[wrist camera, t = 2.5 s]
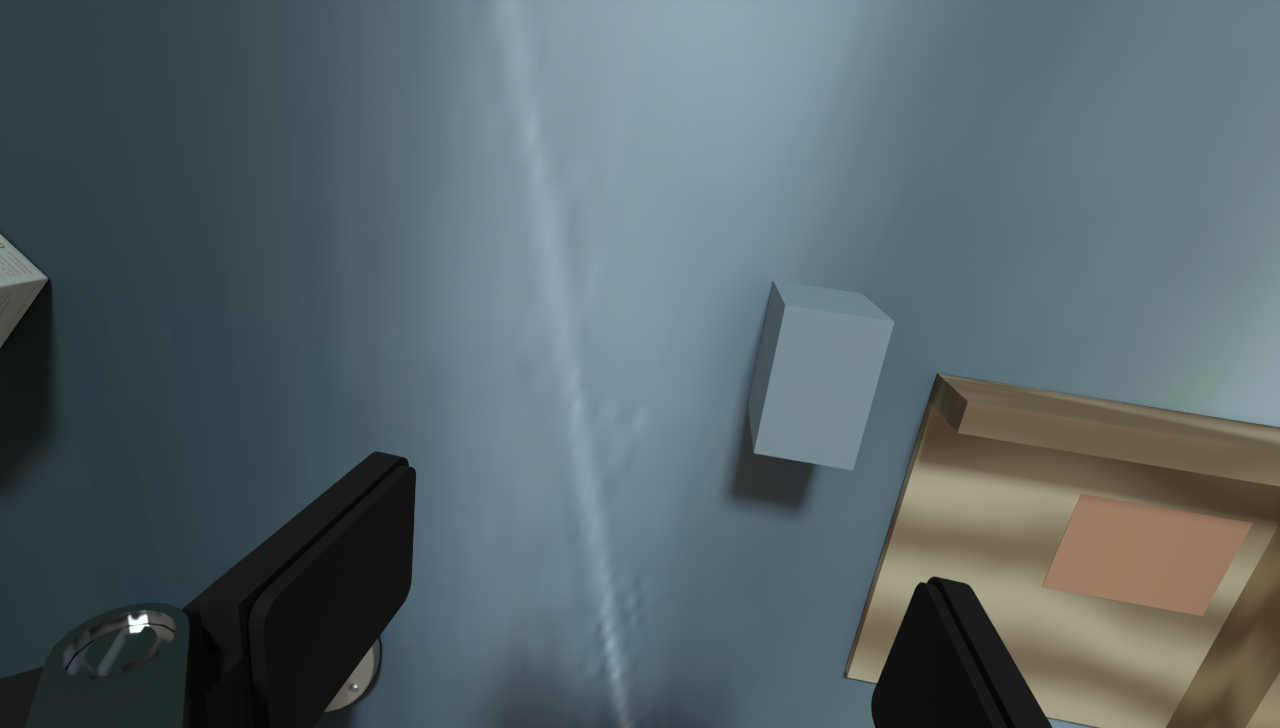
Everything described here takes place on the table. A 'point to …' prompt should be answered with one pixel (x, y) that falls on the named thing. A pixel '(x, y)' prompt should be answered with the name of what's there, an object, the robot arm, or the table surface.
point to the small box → (16, 286)
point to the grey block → (816, 374)
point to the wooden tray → (1096, 552)
